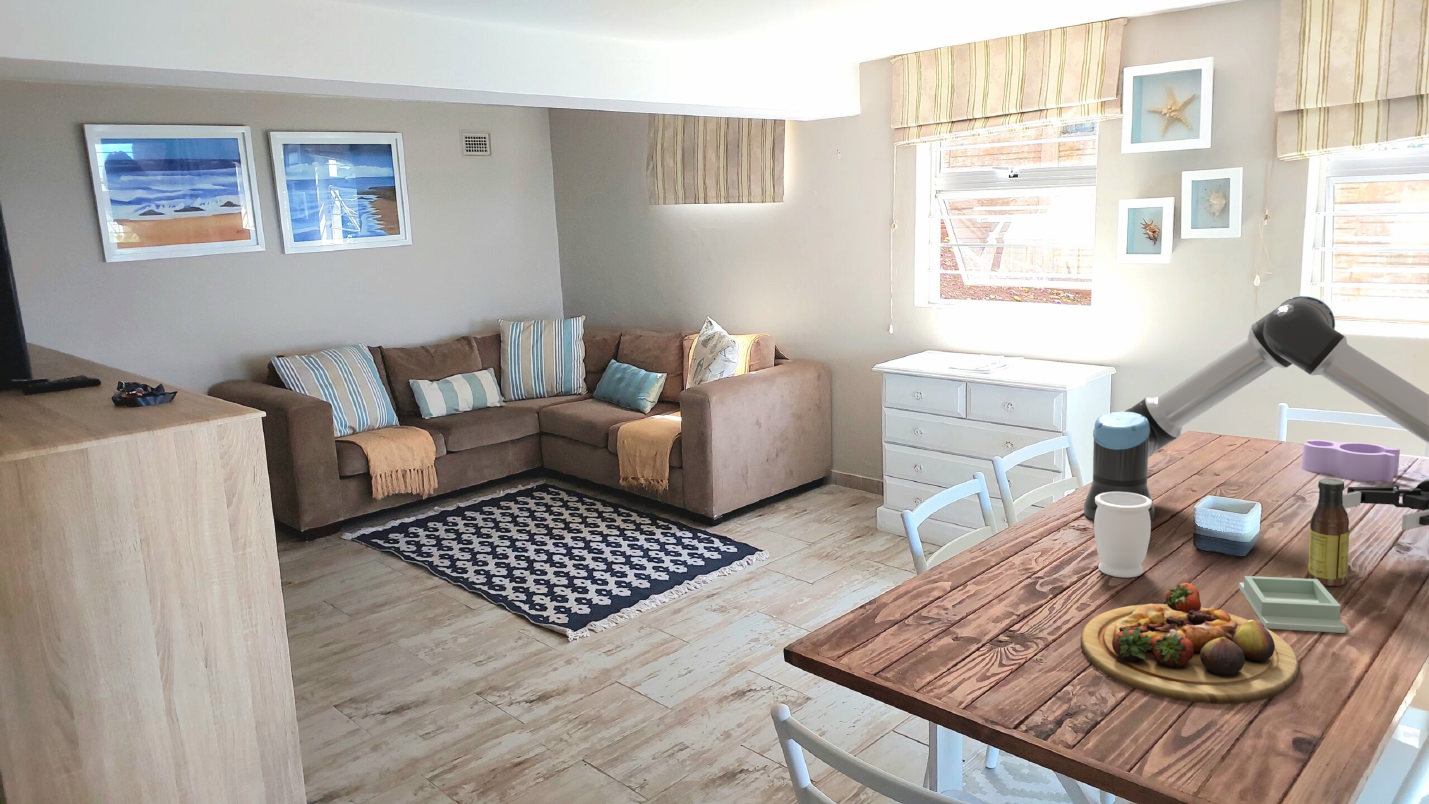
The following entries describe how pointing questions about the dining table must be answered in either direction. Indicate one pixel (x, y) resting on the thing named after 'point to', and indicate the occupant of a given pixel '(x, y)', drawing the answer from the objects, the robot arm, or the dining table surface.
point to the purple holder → (1351, 460)
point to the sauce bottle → (1329, 535)
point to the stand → (1293, 604)
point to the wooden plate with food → (1190, 651)
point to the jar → (1122, 532)
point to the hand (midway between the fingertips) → (1368, 512)
